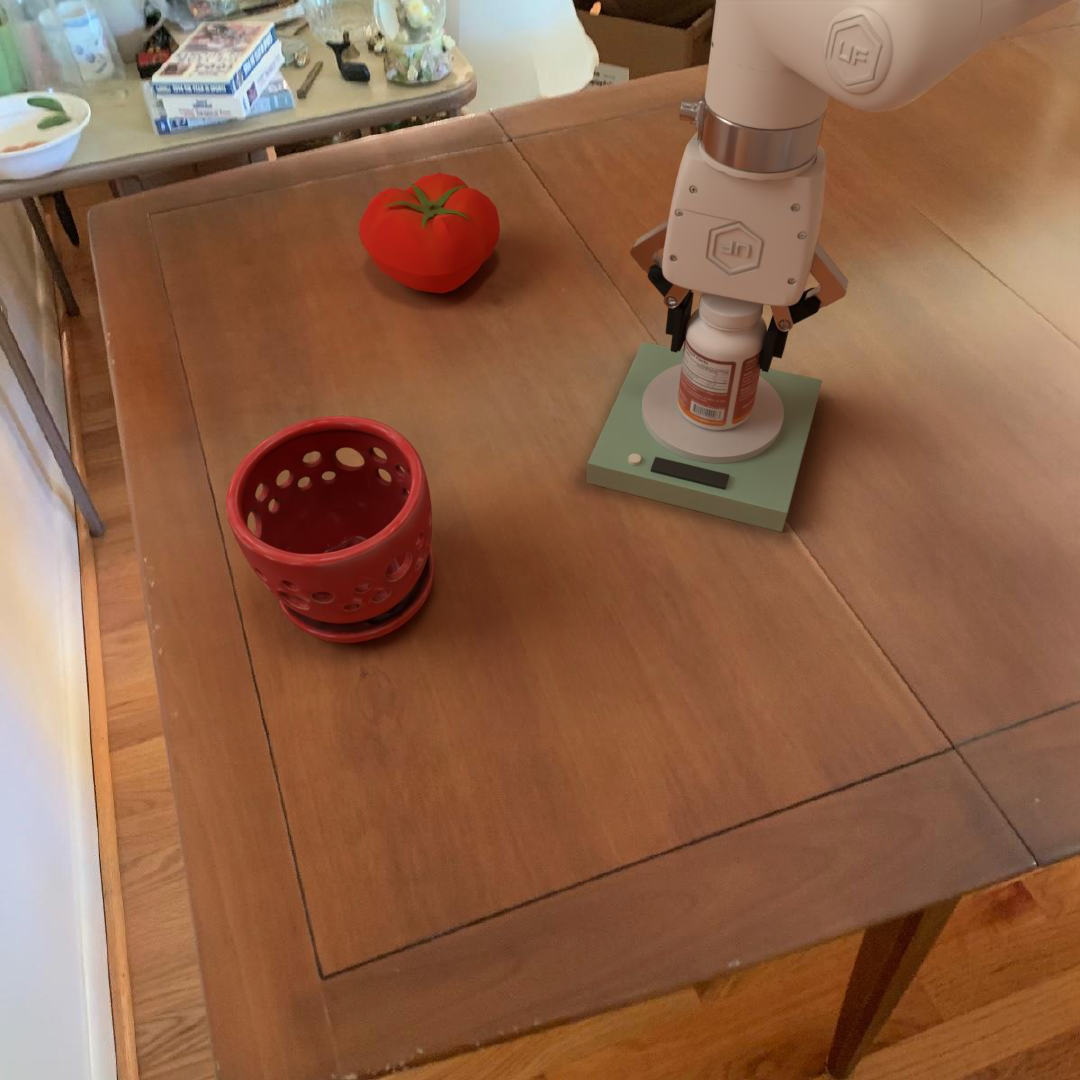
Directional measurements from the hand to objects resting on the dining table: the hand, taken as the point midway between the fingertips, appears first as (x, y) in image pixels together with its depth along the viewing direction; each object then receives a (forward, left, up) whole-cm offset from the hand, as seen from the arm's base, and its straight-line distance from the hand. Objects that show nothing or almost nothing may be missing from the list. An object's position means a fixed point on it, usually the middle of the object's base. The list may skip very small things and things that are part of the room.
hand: (723, 349), depth 76 cm
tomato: (+31, -13, -9) cm, 35 cm away
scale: (0, +1, -9) cm, 9 cm away
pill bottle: (0, 0, -6) cm, 6 cm away
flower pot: (+21, +25, -9) cm, 34 cm away
